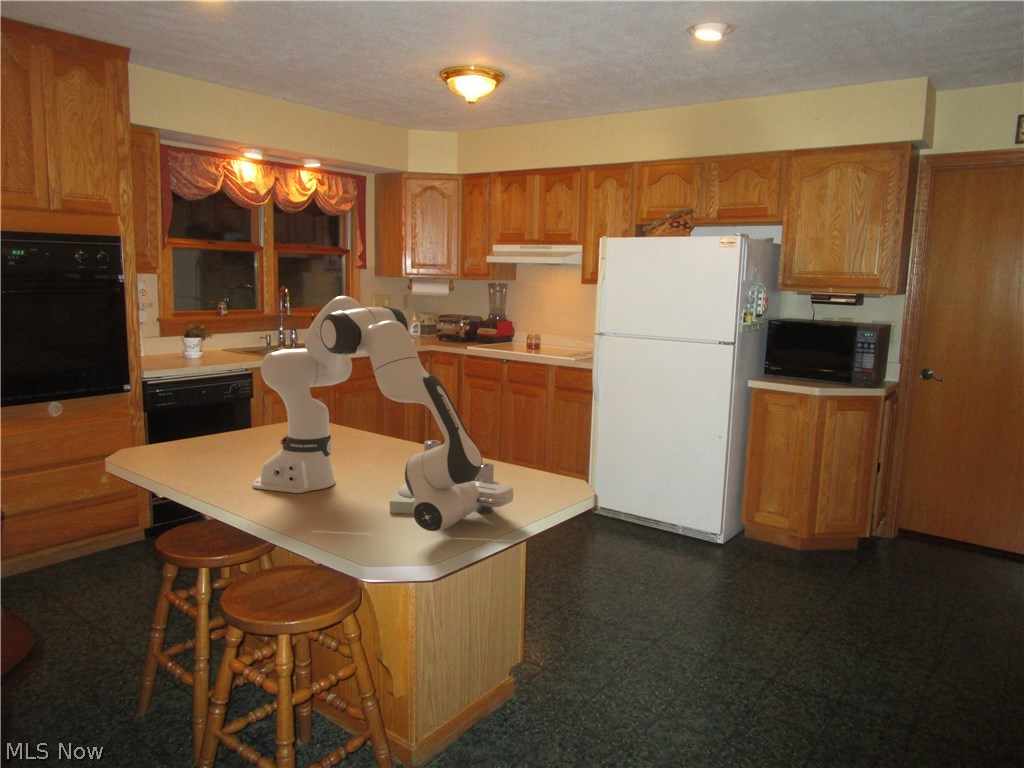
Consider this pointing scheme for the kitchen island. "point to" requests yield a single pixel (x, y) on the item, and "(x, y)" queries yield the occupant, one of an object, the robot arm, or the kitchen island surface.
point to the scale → (402, 501)
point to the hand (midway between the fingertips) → (486, 483)
